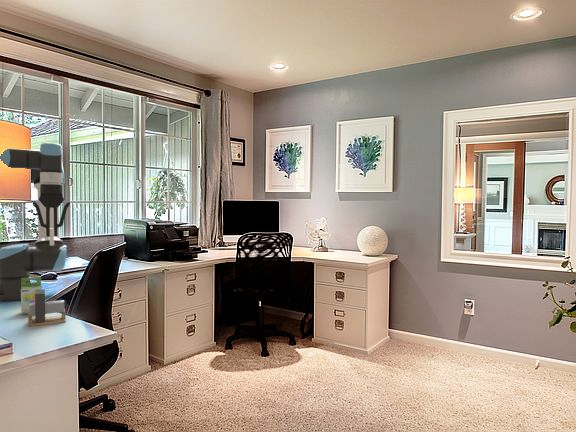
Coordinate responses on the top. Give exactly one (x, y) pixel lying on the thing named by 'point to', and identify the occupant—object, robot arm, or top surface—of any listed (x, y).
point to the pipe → (49, 307)
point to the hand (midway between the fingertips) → (51, 245)
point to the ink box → (28, 292)
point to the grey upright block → (40, 305)
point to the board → (47, 320)
